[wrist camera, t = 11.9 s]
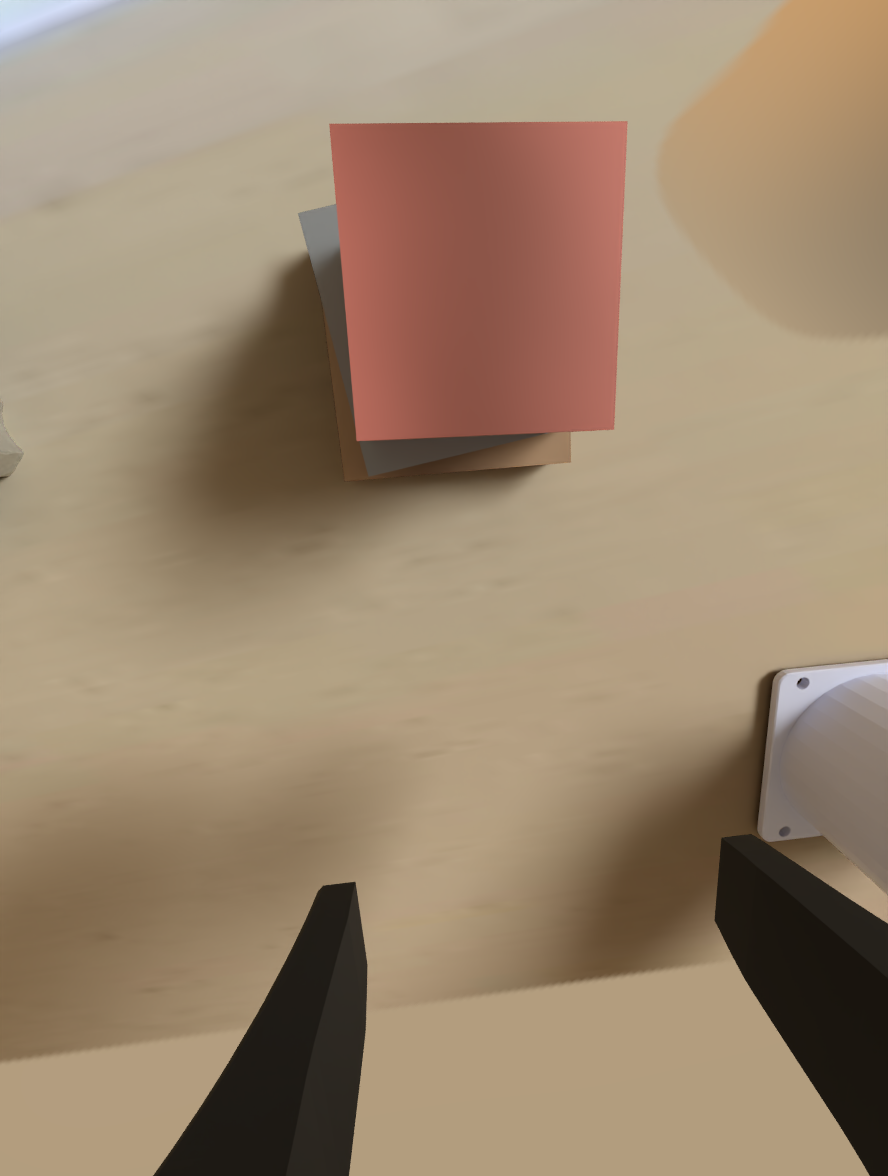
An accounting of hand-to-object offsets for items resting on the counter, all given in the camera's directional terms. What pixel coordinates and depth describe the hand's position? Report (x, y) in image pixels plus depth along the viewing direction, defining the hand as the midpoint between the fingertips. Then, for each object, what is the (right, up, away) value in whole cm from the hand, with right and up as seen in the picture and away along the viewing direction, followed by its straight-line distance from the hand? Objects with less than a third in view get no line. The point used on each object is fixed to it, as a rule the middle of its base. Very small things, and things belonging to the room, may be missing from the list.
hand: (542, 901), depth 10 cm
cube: (-2, +12, +3) cm, 12 cm away
